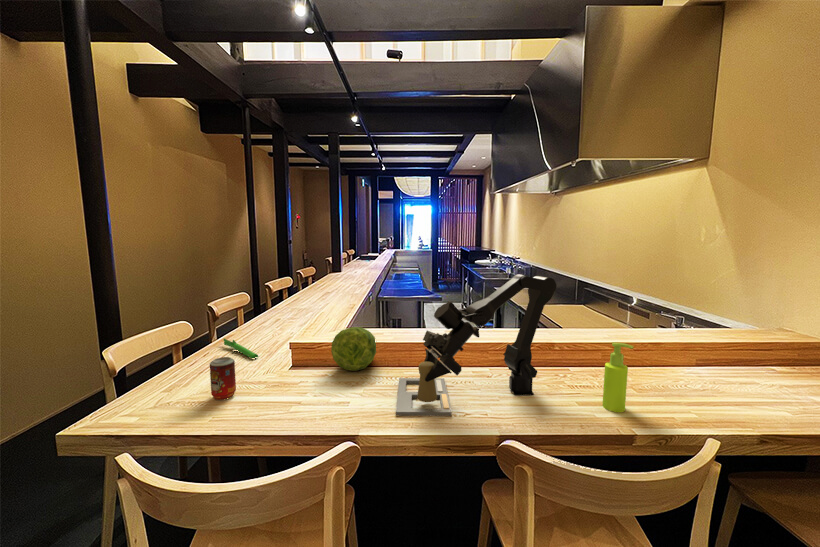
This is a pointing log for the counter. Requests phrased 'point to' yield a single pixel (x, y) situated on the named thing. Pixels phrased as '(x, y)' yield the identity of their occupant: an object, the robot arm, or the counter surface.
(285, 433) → the counter surface
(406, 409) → the panel
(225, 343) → the green onion
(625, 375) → the soap dispenser
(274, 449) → the counter surface
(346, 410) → the counter surface
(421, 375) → the cork
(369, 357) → the lettuce
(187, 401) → the counter surface
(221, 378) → the soda can
